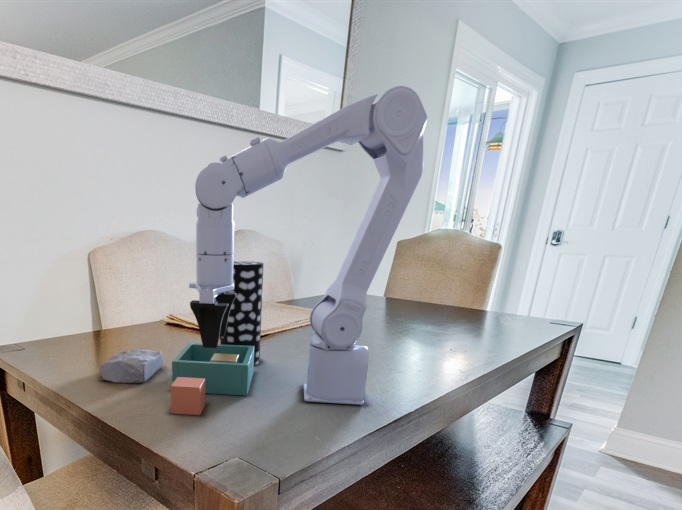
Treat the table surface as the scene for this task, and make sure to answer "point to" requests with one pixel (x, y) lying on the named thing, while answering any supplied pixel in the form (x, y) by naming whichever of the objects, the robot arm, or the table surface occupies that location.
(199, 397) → the coral block
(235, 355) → the maple block
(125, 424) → the table surface
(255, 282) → the spotted tube
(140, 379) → the stone block
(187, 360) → the teal storage bin
